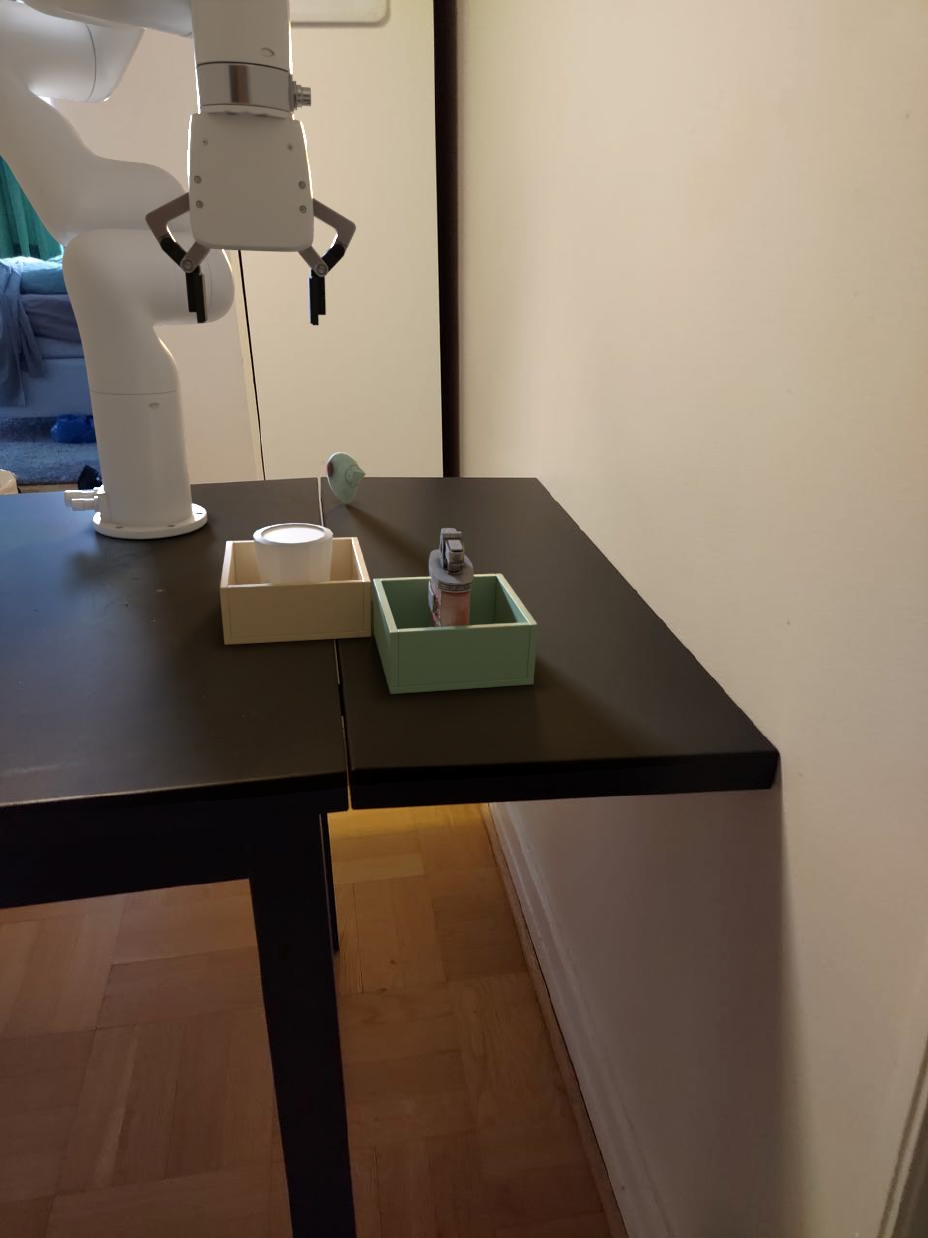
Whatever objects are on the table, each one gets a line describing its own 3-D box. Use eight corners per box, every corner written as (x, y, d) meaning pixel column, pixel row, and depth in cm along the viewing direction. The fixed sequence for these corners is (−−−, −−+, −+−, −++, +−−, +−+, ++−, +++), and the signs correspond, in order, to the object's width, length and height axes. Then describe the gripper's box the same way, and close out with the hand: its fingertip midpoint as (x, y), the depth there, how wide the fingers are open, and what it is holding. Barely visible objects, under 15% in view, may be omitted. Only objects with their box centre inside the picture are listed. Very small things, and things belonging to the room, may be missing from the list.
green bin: (390, 694, 64) (390, 632, 62) (373, 633, 74) (373, 578, 72) (533, 684, 66) (538, 624, 64) (498, 626, 76) (501, 573, 74)
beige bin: (224, 645, 71) (219, 587, 69) (230, 591, 82) (226, 540, 80) (371, 637, 73) (370, 581, 71) (358, 586, 84) (357, 536, 82)
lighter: (423, 631, 73) (425, 518, 69) (462, 630, 74) (466, 518, 70) (432, 673, 66) (435, 551, 62) (476, 672, 66) (481, 550, 62)
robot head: (371, 509, 109) (370, 457, 106) (341, 513, 107) (340, 460, 104) (345, 494, 115) (344, 444, 112) (317, 497, 113) (315, 447, 110)
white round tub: (319, 625, 73) (316, 548, 71) (245, 617, 74) (239, 541, 72) (345, 597, 80) (343, 525, 77) (276, 589, 81) (272, 518, 78)
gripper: (349, 113, 74) (353, 321, 80) (139, 98, 70) (161, 317, 77) (357, 99, 67) (360, 328, 74) (125, 83, 63) (151, 324, 70)
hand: (259, 322), depth 75 cm, fingers open, 9 cm apart
